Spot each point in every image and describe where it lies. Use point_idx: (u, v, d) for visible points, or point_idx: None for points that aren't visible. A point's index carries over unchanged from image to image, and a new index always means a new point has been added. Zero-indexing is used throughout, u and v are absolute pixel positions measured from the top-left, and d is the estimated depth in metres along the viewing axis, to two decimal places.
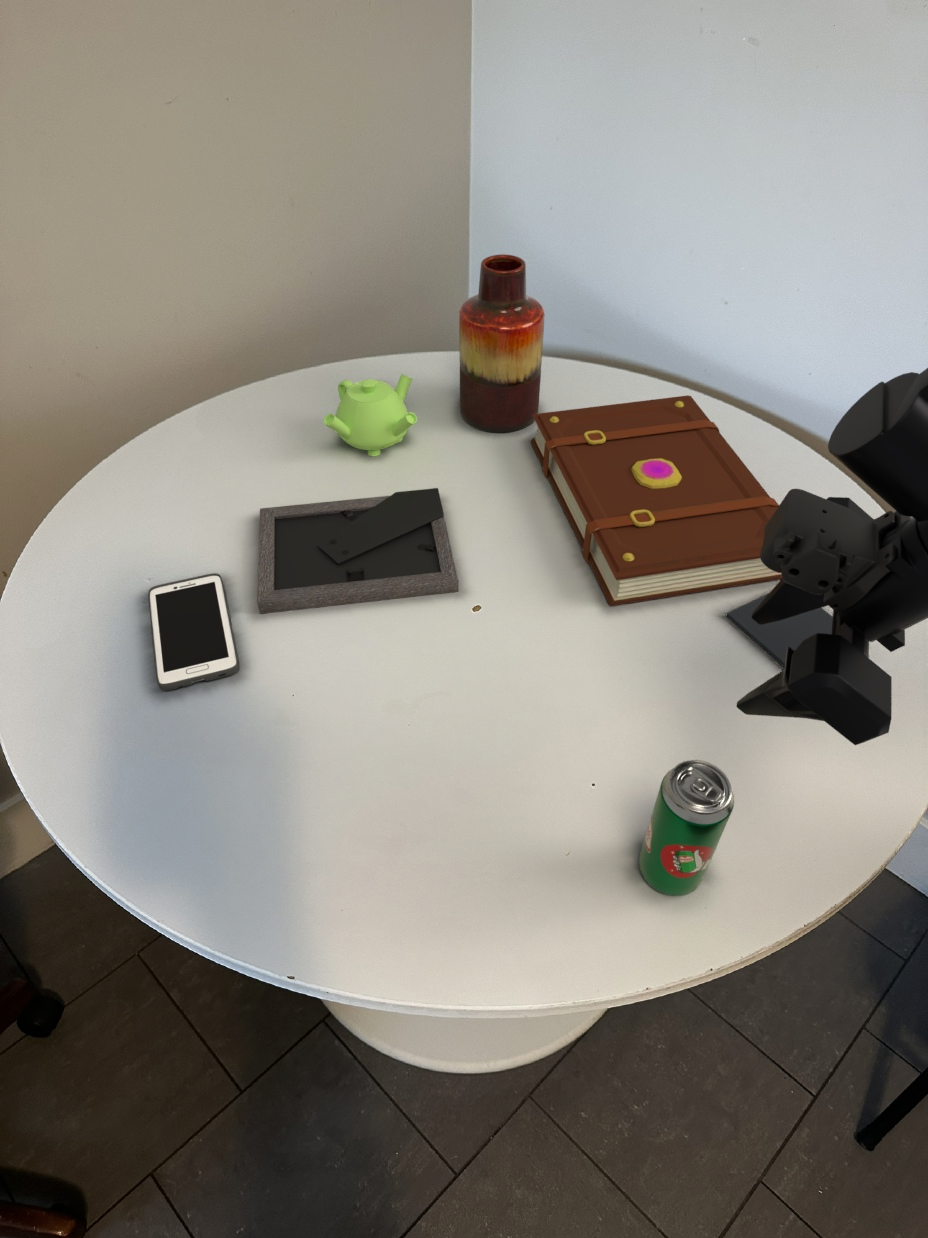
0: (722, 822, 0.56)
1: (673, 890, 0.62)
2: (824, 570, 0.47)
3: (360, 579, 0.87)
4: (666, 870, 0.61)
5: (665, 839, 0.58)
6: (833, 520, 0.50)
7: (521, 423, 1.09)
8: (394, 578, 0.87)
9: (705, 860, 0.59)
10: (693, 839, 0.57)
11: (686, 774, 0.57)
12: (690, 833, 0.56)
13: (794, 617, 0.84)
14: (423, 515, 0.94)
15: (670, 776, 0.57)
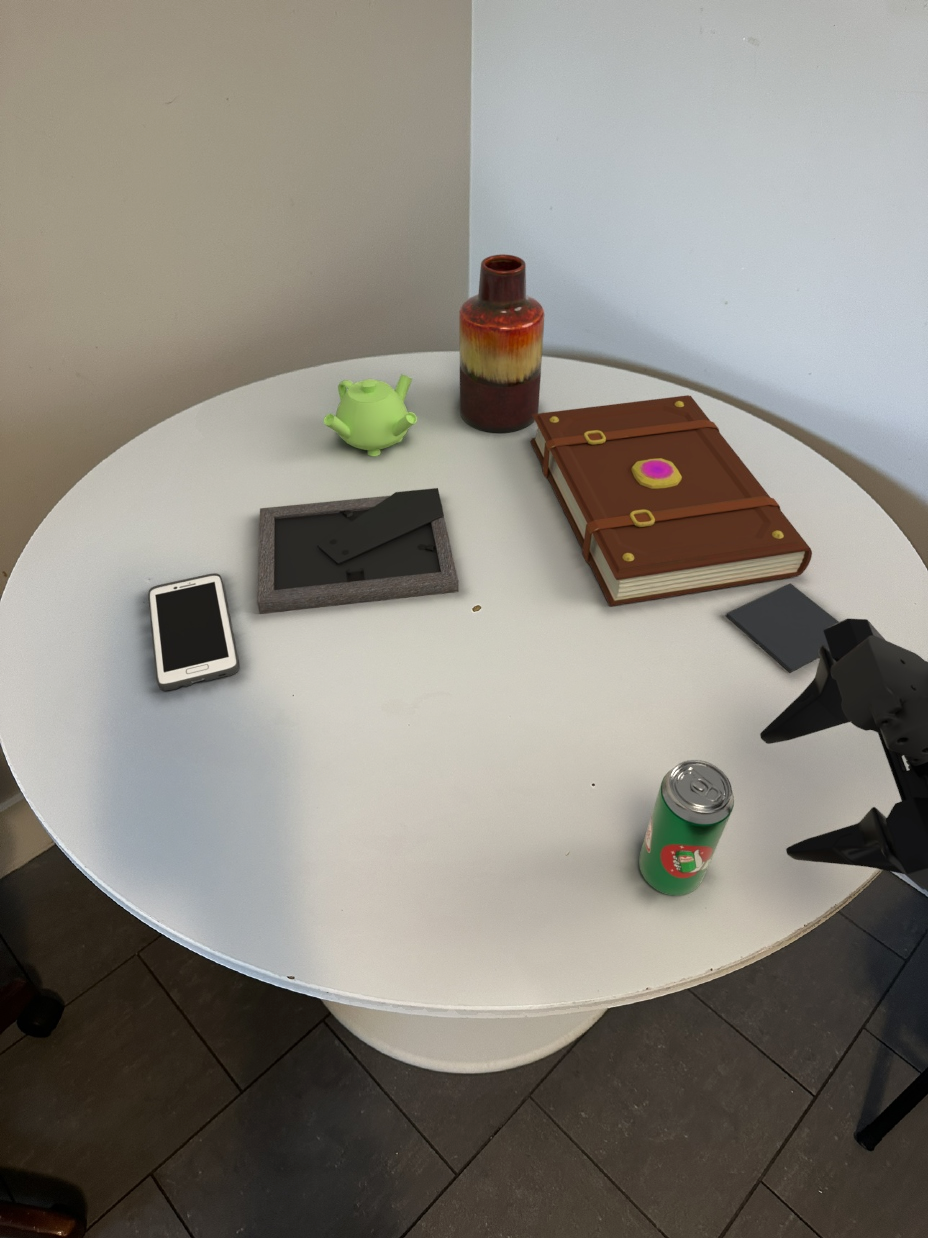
0: (722, 822, 0.56)
1: (673, 890, 0.62)
2: None
3: (360, 578, 0.87)
4: (666, 870, 0.61)
5: (665, 839, 0.58)
6: (913, 672, 0.47)
7: (521, 423, 1.09)
8: (394, 578, 0.87)
9: (705, 860, 0.59)
10: (693, 839, 0.57)
11: (686, 774, 0.57)
12: (690, 833, 0.56)
13: (794, 617, 0.84)
14: (423, 515, 0.94)
15: (670, 776, 0.57)
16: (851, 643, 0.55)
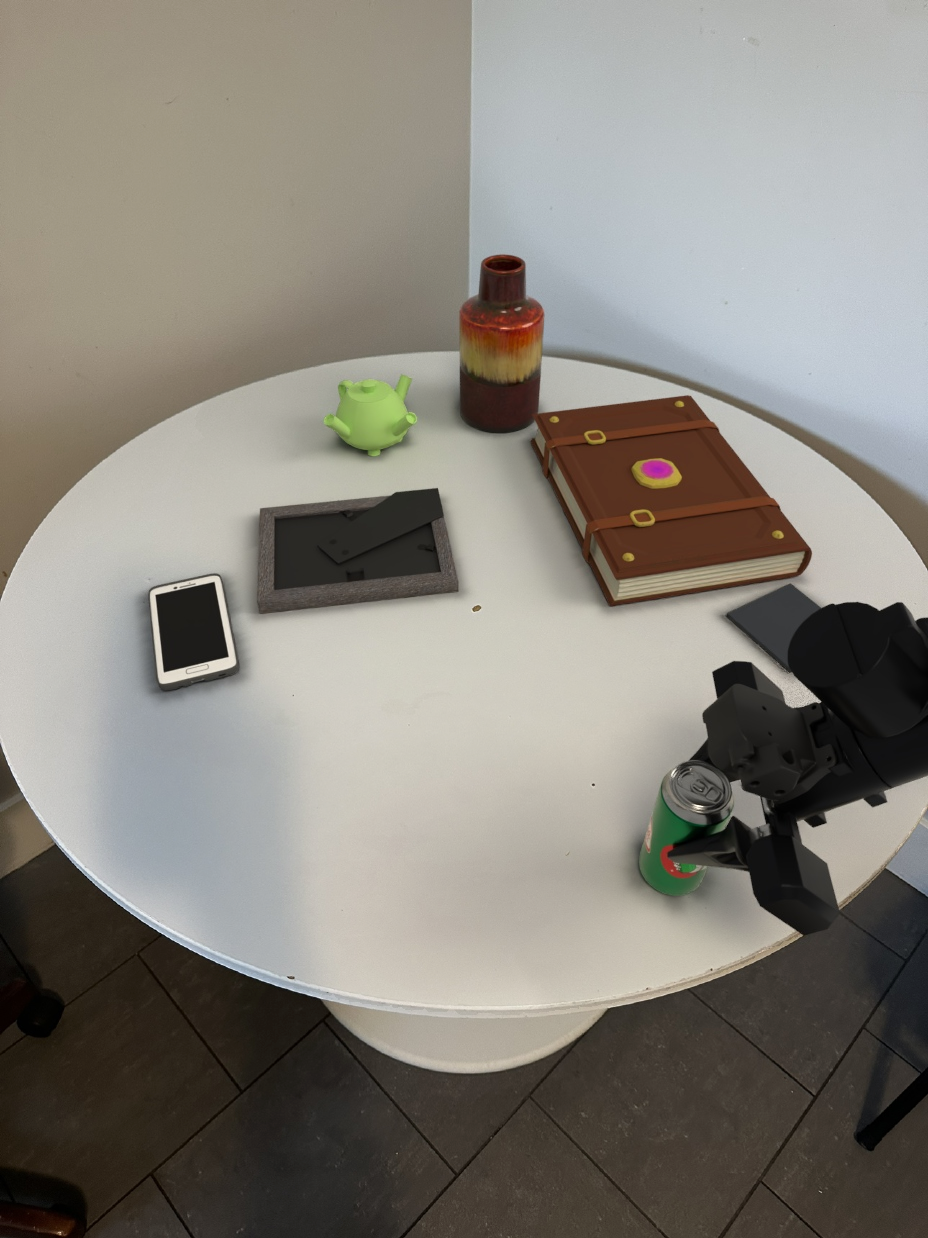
0: (722, 822, 0.56)
1: (673, 890, 0.62)
2: (784, 783, 0.48)
3: (360, 578, 0.87)
4: (665, 871, 0.61)
5: (665, 839, 0.58)
6: (774, 718, 0.51)
7: (521, 423, 1.09)
8: (394, 577, 0.87)
9: None
10: (693, 839, 0.57)
11: (686, 774, 0.57)
12: (690, 833, 0.56)
13: (794, 617, 0.84)
14: (423, 515, 0.94)
15: (670, 776, 0.57)
16: None
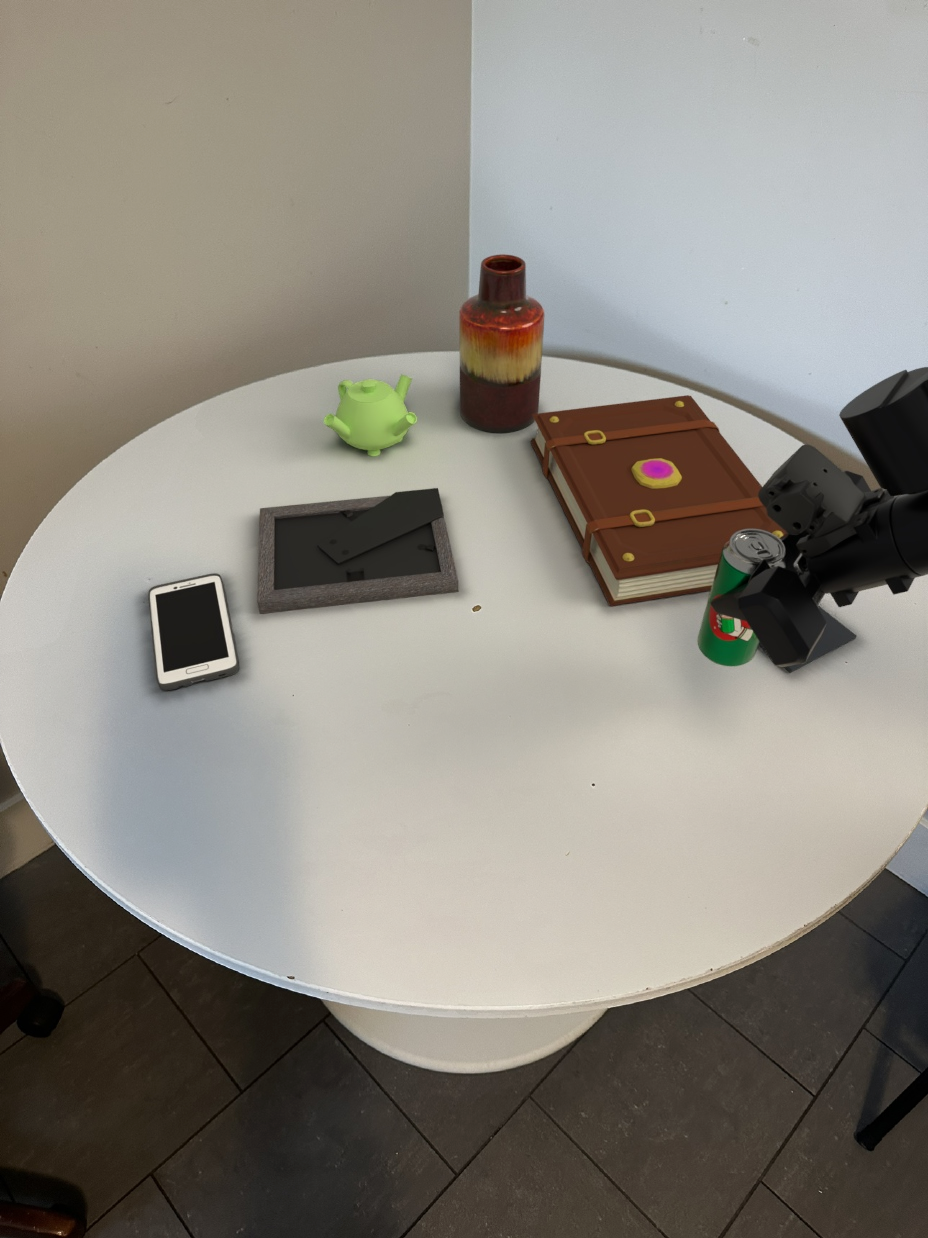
0: None
1: (714, 654, 0.70)
2: (800, 513, 0.55)
3: (360, 578, 0.87)
4: (710, 627, 0.69)
5: (714, 590, 0.67)
6: (829, 480, 0.58)
7: (521, 423, 1.09)
8: (394, 577, 0.87)
9: (744, 626, 0.67)
10: None
11: (752, 537, 0.65)
12: (732, 580, 0.64)
13: None
14: (423, 515, 0.94)
15: (737, 532, 0.65)
16: None
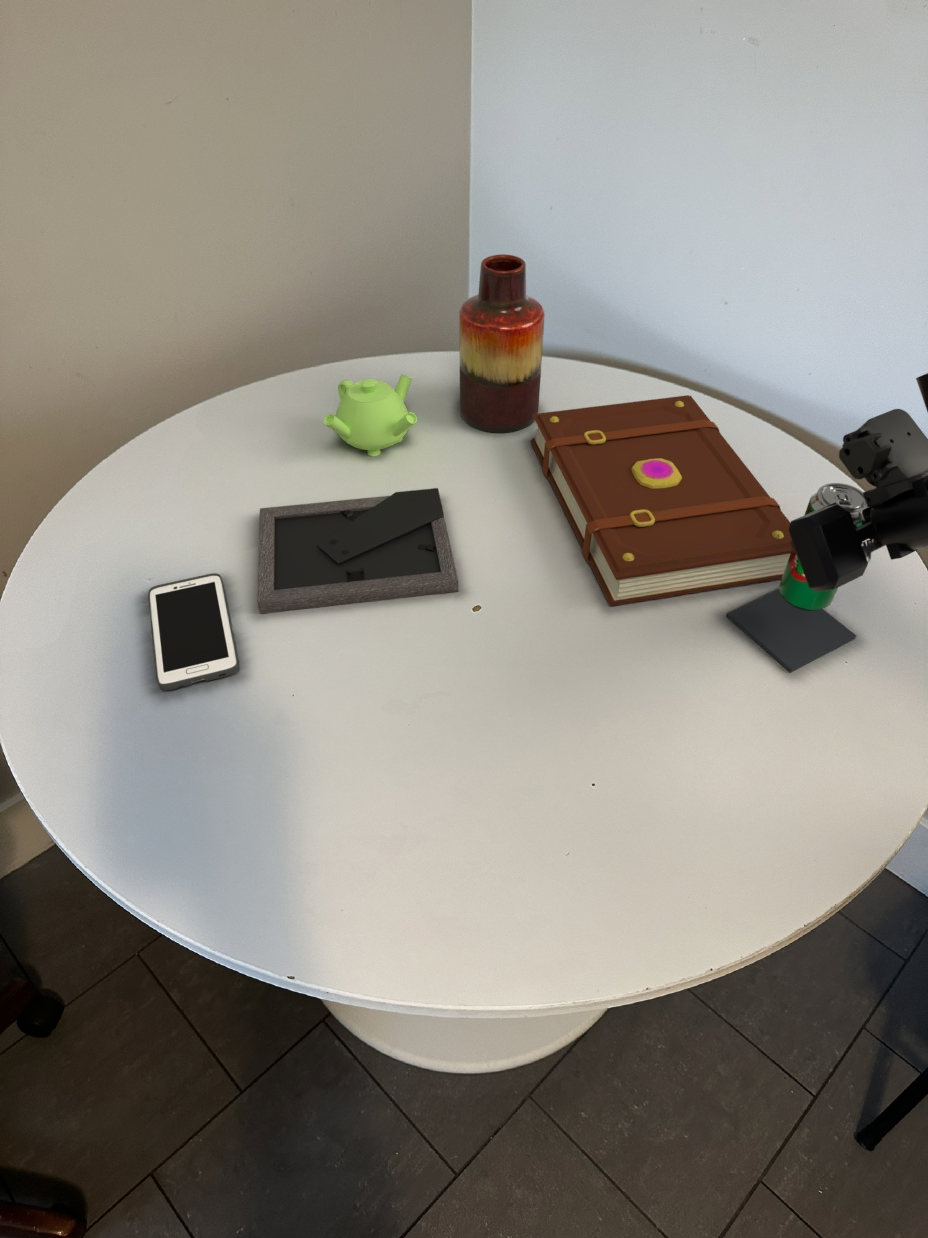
0: None
1: (788, 593, 0.78)
2: (864, 459, 0.63)
3: (360, 578, 0.87)
4: (789, 567, 0.77)
5: None
6: (909, 441, 0.65)
7: (521, 423, 1.09)
8: (394, 577, 0.87)
9: None
10: None
11: (843, 491, 0.73)
12: None
13: (794, 617, 0.84)
14: (423, 515, 0.94)
15: (830, 483, 0.73)
16: None
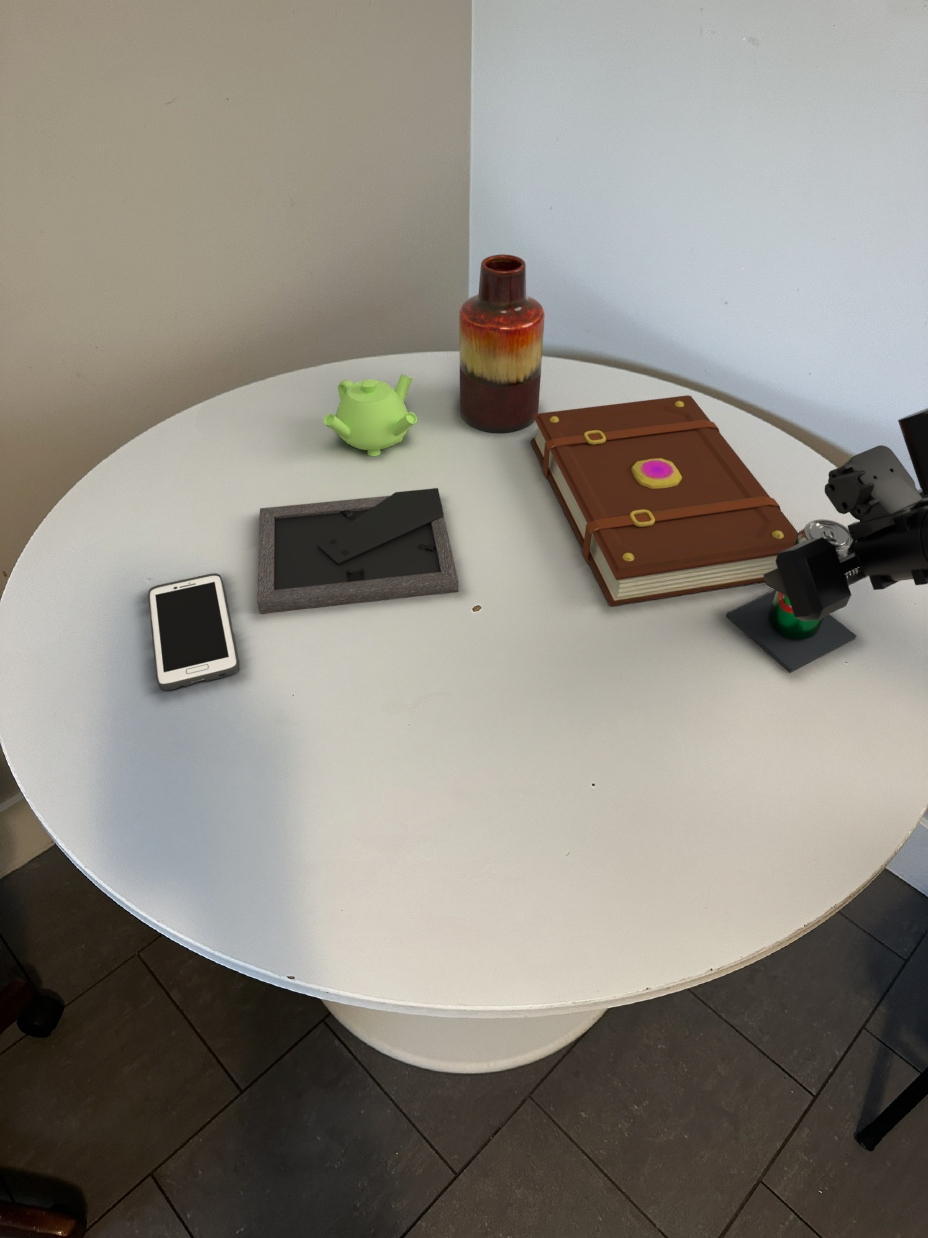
0: None
1: (776, 622, 0.81)
2: (848, 495, 0.66)
3: (360, 578, 0.87)
4: (777, 598, 0.80)
5: None
6: (891, 478, 0.67)
7: (521, 423, 1.09)
8: (394, 577, 0.87)
9: None
10: None
11: (829, 527, 0.76)
12: None
13: None
14: (423, 515, 0.94)
15: (817, 520, 0.76)
16: None
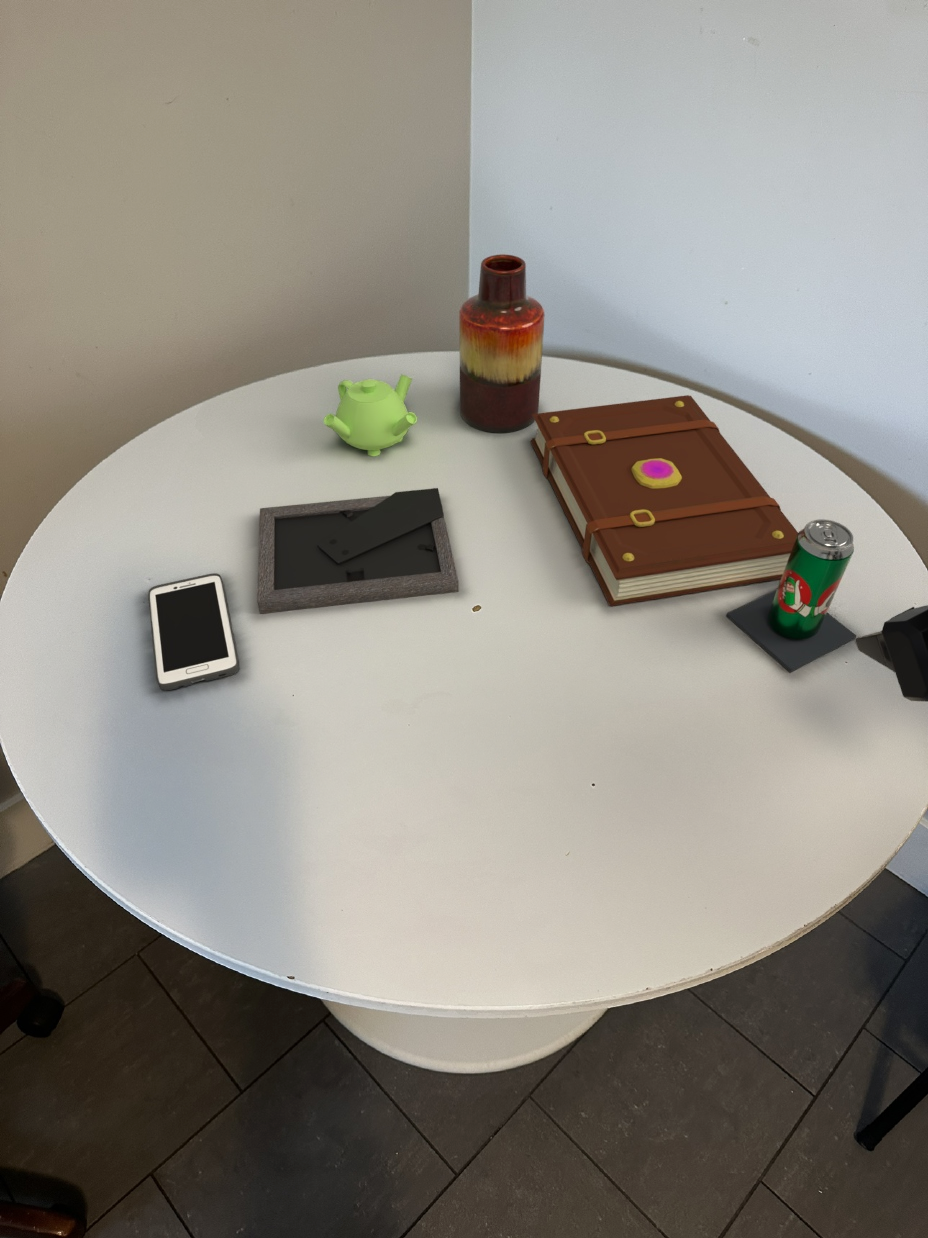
0: (821, 561, 0.74)
1: (776, 622, 0.81)
2: None
3: (360, 578, 0.87)
4: (777, 598, 0.80)
5: (786, 565, 0.78)
6: None
7: (521, 423, 1.09)
8: (394, 577, 0.87)
9: (803, 601, 0.78)
10: (798, 565, 0.76)
11: (829, 527, 0.76)
12: (798, 557, 0.76)
13: None
14: (423, 515, 0.94)
15: (817, 520, 0.76)
16: None
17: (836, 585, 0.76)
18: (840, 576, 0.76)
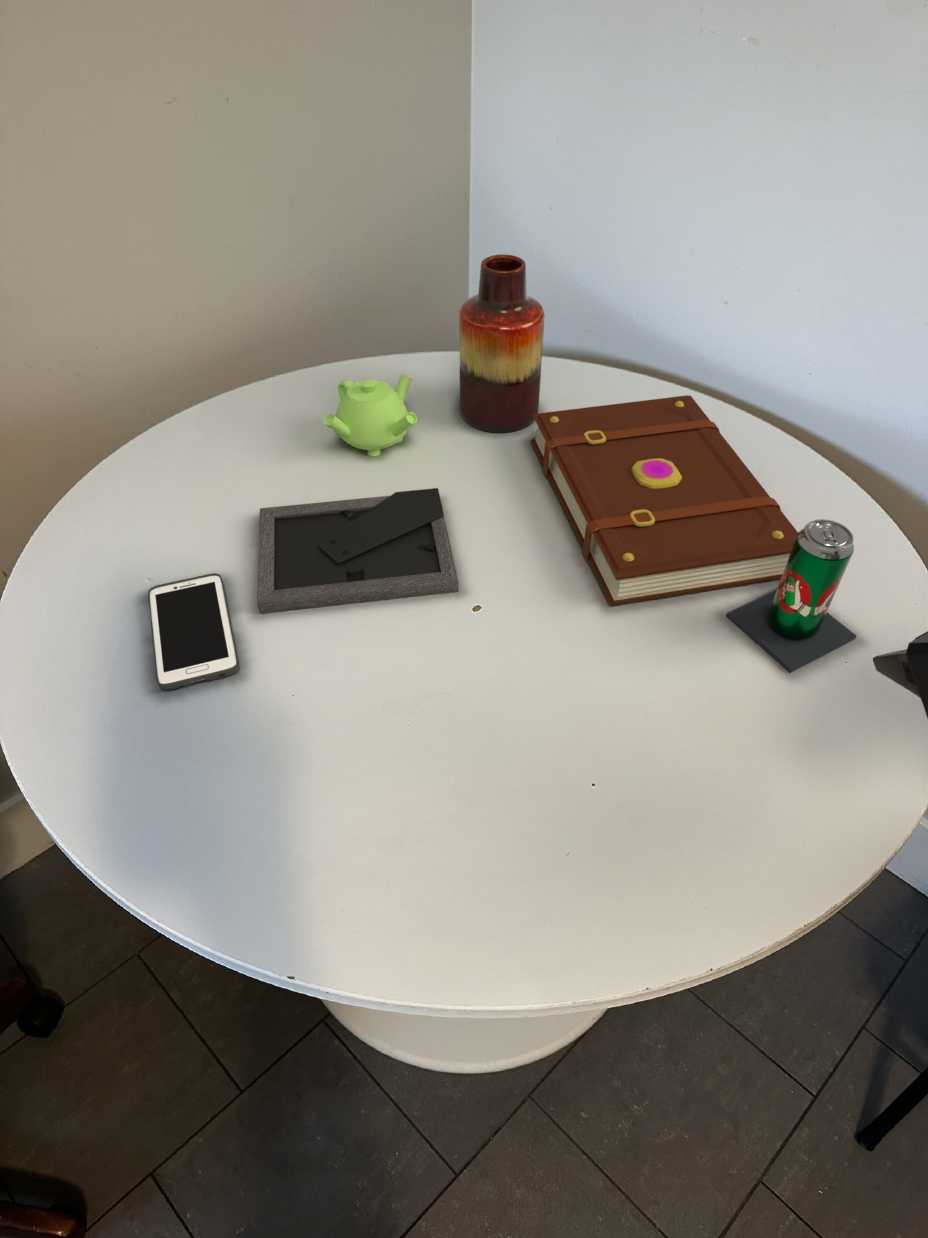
0: (821, 561, 0.74)
1: (776, 622, 0.81)
2: None
3: (360, 578, 0.87)
4: (777, 598, 0.80)
5: (786, 565, 0.78)
6: None
7: (521, 423, 1.09)
8: (394, 577, 0.87)
9: (803, 601, 0.78)
10: (798, 565, 0.76)
11: (829, 527, 0.76)
12: (798, 557, 0.76)
13: None
14: (423, 515, 0.94)
15: (817, 520, 0.76)
16: None
17: (836, 585, 0.76)
18: (840, 576, 0.76)
